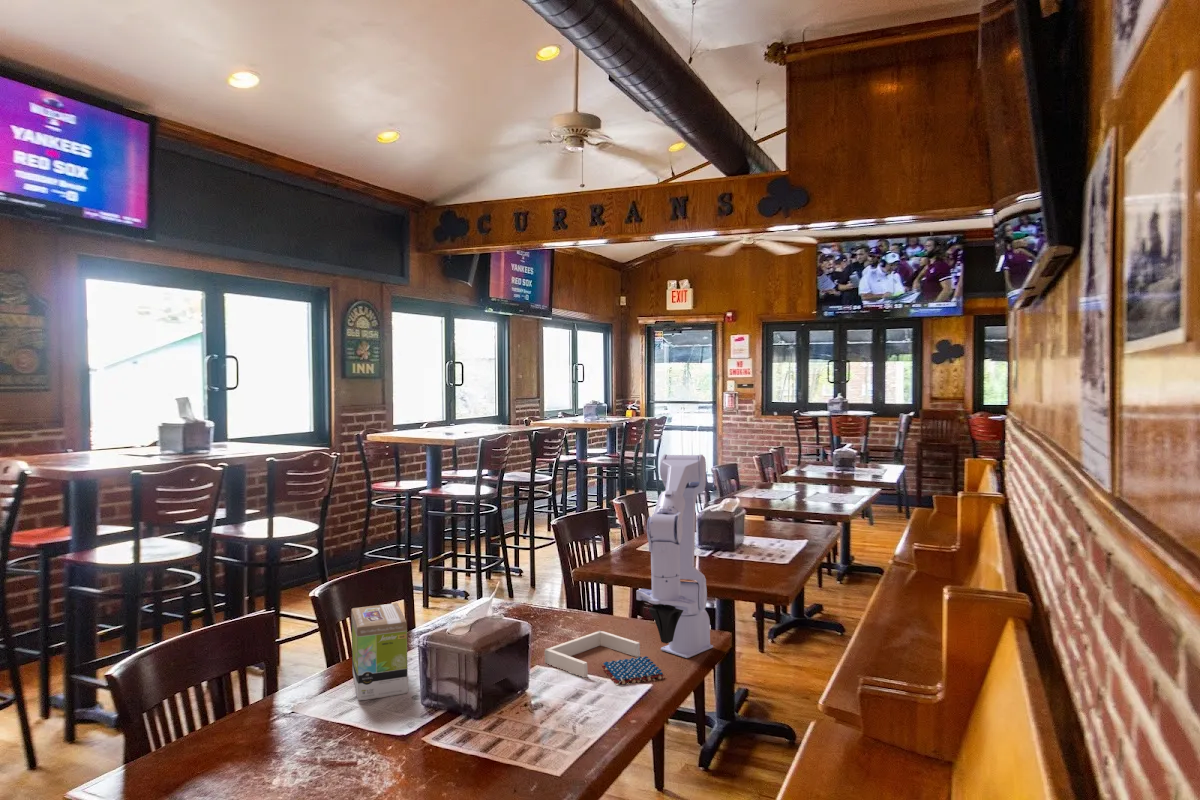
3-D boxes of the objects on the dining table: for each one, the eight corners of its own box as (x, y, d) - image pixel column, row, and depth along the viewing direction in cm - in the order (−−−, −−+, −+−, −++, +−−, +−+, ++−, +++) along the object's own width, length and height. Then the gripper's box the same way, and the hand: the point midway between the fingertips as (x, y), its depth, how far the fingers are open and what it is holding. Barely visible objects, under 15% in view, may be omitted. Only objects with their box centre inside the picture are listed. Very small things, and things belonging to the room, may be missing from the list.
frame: (600, 643, 182) (600, 630, 182) (640, 656, 173) (639, 642, 173) (545, 663, 170) (544, 649, 170) (584, 678, 161) (583, 663, 161)
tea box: (410, 693, 155) (407, 620, 155) (357, 702, 152) (354, 627, 151) (400, 668, 169) (397, 600, 169) (351, 675, 166) (349, 606, 165)
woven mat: (600, 670, 166) (600, 661, 166) (646, 663, 169) (646, 654, 169) (615, 689, 156) (615, 679, 156) (664, 681, 160) (664, 671, 159)
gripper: (625, 572, 157) (626, 638, 158) (680, 584, 147) (682, 655, 147) (648, 565, 162) (650, 630, 163) (704, 577, 152) (705, 646, 152)
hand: (667, 641), depth 155 cm, fingers closed
